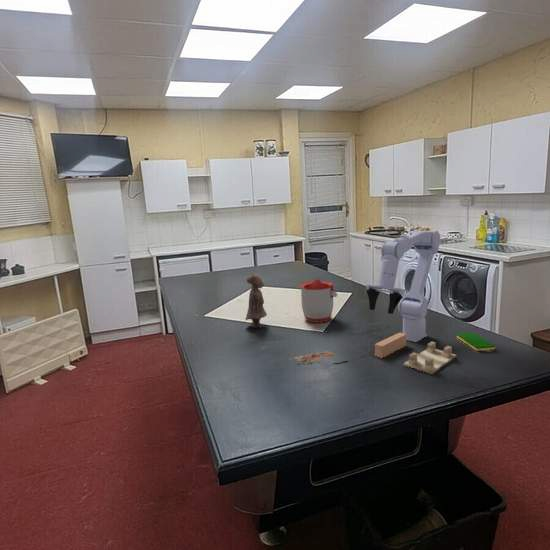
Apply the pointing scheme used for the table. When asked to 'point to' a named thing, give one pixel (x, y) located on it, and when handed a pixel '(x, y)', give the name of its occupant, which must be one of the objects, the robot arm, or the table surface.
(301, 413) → the table surface
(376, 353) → the clay strip
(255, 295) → the clay figurine
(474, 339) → the dish sponge
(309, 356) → the bark
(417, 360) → the birch rack
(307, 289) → the citrus juicer
